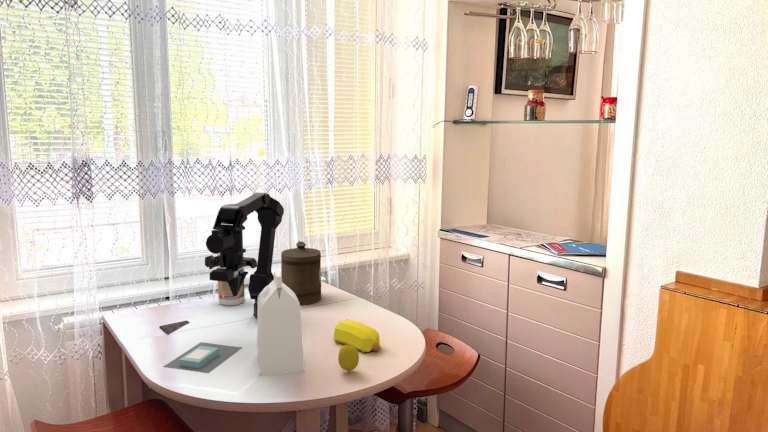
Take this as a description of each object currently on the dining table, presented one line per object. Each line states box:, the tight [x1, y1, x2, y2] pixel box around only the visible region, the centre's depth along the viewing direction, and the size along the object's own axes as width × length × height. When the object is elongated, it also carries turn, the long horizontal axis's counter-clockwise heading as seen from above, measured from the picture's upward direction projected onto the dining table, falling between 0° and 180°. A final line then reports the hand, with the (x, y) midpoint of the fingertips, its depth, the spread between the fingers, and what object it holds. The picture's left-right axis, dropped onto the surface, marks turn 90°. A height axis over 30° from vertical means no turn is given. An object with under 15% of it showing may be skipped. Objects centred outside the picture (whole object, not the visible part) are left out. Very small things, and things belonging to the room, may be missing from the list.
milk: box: [256, 270, 305, 377], centre depth 159 cm, size 12×12×26 cm
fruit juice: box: [216, 253, 246, 307], centre depth 212 cm, size 9×9×28 cm
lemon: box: [337, 344, 360, 373], centre depth 156 cm, size 6×6×8 cm
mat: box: [162, 342, 243, 374], centre depth 165 cm, size 18×14×1 cm
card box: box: [179, 346, 219, 368], centre depth 162 cm, size 2×6×10 cm
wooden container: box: [280, 241, 322, 306], centre depth 217 cm, size 15×15×22 cm
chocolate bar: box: [159, 320, 191, 336], centre depth 184 cm, size 9×1×18 cm
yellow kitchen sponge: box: [333, 319, 381, 353], centre depth 175 cm, size 18×7×8 cm
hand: (235, 295), depth 180 cm, fingers closed
